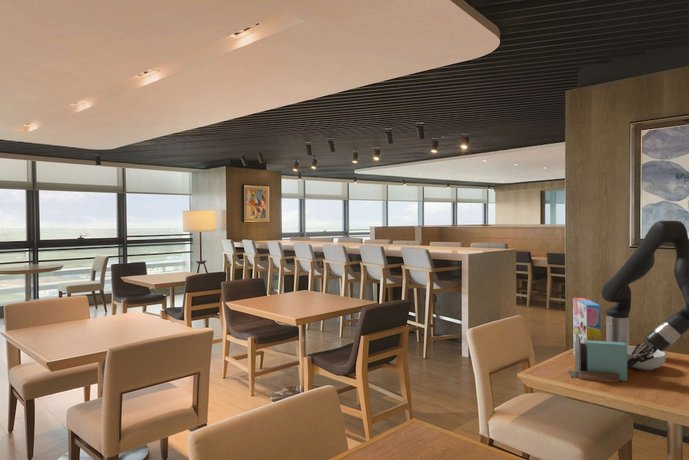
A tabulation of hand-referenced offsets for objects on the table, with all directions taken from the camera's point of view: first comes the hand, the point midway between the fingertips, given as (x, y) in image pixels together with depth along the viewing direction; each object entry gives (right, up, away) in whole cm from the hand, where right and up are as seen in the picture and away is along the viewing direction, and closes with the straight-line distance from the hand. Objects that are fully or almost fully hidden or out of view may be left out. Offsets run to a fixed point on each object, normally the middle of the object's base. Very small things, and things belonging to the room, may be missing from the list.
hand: (627, 365), depth 181 cm
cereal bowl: (+15, -5, +14) cm, 21 cm away
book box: (-7, -5, +2) cm, 9 cm away
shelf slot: (-10, -5, +3) cm, 12 cm away
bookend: (-18, -5, +6) cm, 20 cm away
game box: (-4, -5, +23) cm, 24 cm away
